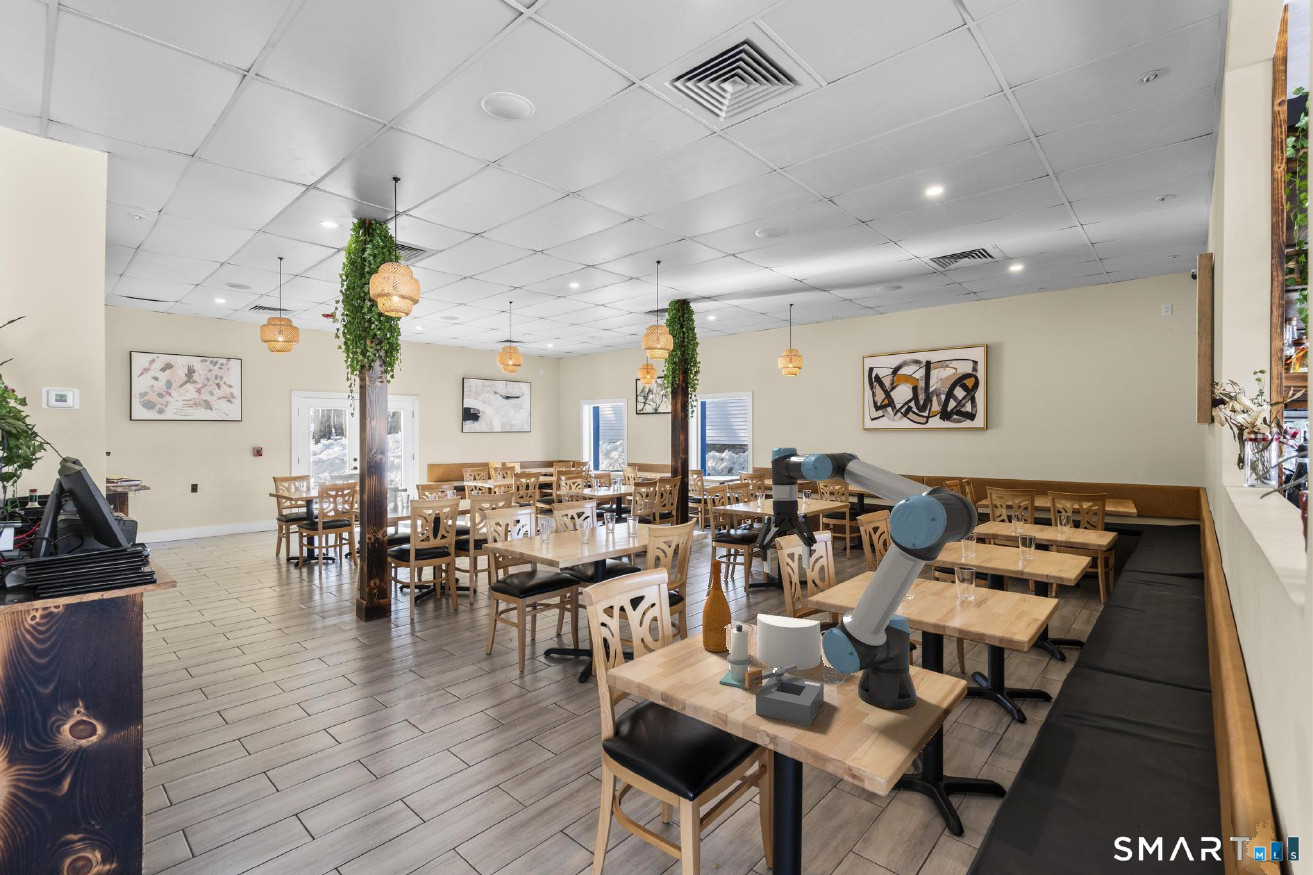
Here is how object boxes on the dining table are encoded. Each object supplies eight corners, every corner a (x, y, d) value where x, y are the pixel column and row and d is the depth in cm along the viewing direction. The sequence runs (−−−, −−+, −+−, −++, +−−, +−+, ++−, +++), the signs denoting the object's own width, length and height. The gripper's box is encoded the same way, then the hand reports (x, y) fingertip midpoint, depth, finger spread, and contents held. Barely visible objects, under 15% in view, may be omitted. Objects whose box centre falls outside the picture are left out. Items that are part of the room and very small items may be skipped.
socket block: (823, 700, 166) (823, 677, 166) (809, 725, 152) (809, 700, 152) (773, 690, 173) (773, 668, 172) (755, 713, 158) (755, 689, 158)
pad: (758, 677, 181) (758, 675, 181) (749, 689, 173) (749, 686, 173) (730, 672, 185) (730, 669, 185) (719, 683, 177) (719, 680, 177)
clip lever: (750, 689, 160) (750, 674, 160) (743, 685, 163) (743, 670, 163) (799, 674, 170) (799, 659, 170) (791, 670, 173) (791, 656, 172)
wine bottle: (726, 642, 212) (726, 556, 212) (735, 652, 202) (734, 562, 202) (699, 644, 210) (699, 557, 210) (706, 654, 201) (706, 563, 200)
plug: (754, 675, 181) (754, 624, 181) (746, 684, 175) (746, 631, 174) (732, 671, 184) (732, 620, 184) (724, 680, 178) (723, 627, 178)
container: (825, 652, 202) (825, 612, 202) (814, 674, 184) (814, 630, 184) (766, 643, 210) (765, 605, 210) (750, 664, 192) (750, 622, 192)
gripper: (812, 496, 190) (814, 564, 190) (742, 500, 181) (743, 571, 181) (827, 497, 183) (829, 568, 183) (755, 502, 174) (756, 576, 174)
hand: (786, 570), depth 182 cm, fingers open, 13 cm apart
